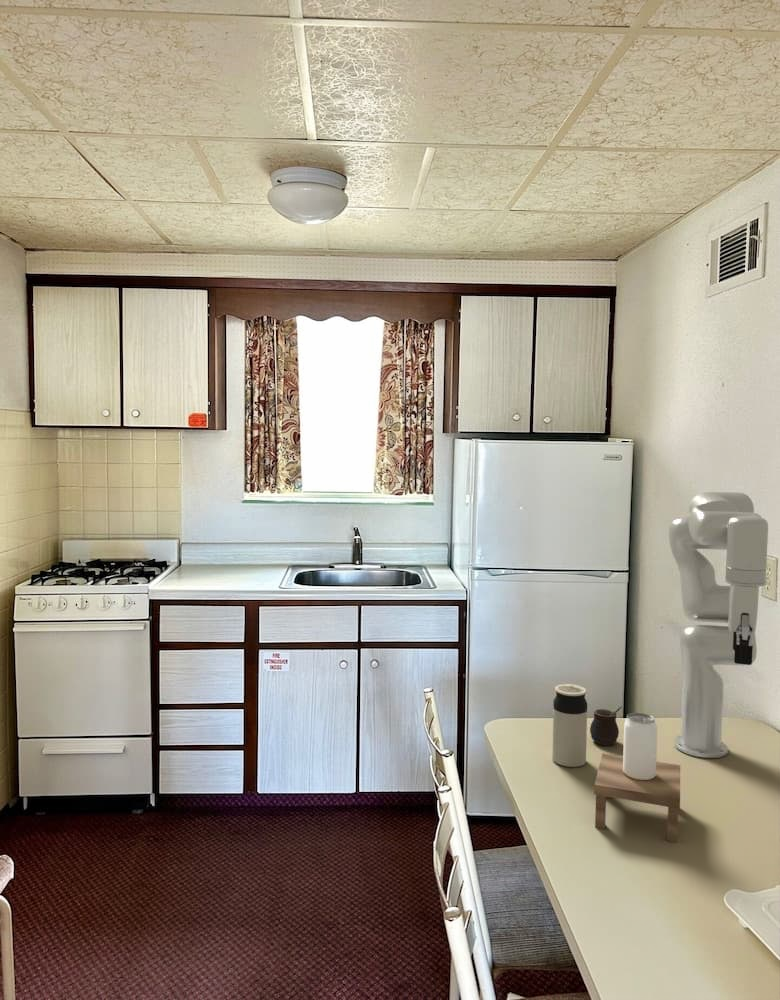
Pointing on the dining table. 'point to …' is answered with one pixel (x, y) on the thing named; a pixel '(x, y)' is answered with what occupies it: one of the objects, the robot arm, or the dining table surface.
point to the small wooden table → (638, 790)
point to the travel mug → (569, 725)
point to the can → (640, 746)
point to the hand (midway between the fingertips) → (741, 657)
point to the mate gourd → (604, 727)
